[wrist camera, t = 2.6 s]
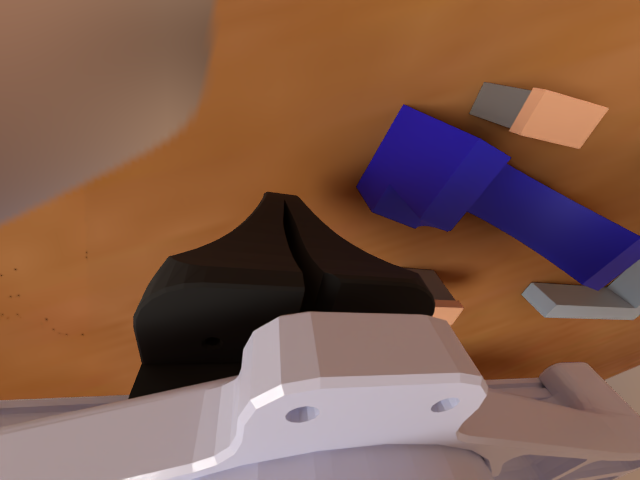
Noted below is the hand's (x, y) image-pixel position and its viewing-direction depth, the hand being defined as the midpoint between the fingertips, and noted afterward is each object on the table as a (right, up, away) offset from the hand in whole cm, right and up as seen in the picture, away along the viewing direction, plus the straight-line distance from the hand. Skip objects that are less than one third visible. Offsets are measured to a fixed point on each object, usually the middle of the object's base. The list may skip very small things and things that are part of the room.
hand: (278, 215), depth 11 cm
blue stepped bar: (+10, +2, +5) cm, 11 cm away
